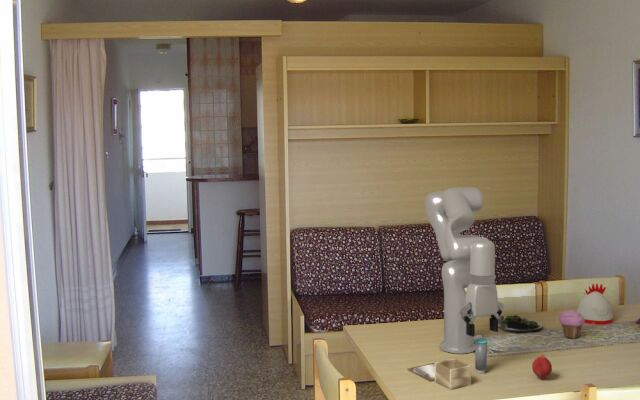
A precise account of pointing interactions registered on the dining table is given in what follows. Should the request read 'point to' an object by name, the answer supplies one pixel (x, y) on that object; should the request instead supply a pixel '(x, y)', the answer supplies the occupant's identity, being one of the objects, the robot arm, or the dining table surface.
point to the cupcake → (571, 323)
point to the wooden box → (452, 374)
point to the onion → (542, 367)
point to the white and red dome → (595, 307)
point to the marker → (481, 355)
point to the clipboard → (425, 371)
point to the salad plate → (518, 324)
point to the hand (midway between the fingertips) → (482, 333)
